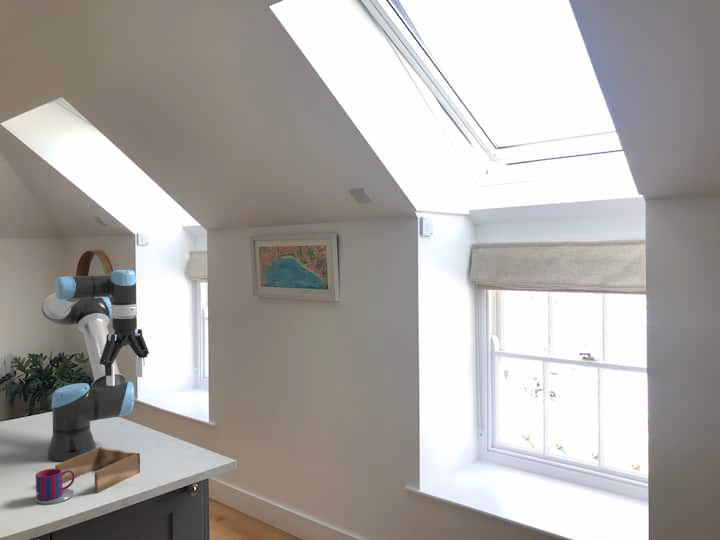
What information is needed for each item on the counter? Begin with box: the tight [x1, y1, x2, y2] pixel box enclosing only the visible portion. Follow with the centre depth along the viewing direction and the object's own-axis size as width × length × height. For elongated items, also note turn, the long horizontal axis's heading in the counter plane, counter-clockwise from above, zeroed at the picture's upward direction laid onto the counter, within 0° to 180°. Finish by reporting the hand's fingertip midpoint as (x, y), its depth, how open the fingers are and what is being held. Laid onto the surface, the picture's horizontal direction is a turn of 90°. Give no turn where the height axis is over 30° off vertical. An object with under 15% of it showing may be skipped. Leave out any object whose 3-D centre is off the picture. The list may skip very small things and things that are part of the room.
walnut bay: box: [54, 446, 141, 494], centre depth 197 cm, size 16×18×6 cm
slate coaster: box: [34, 488, 75, 505], centre depth 183 cm, size 10×10×1 cm
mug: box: [35, 468, 75, 501], centre depth 183 cm, size 7×10×7 cm
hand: (125, 381), depth 211 cm, fingers open, 13 cm apart
